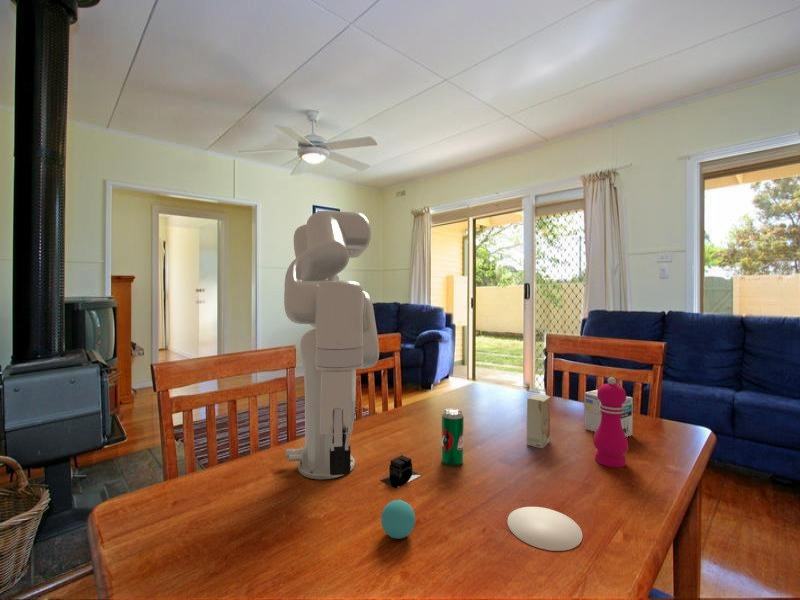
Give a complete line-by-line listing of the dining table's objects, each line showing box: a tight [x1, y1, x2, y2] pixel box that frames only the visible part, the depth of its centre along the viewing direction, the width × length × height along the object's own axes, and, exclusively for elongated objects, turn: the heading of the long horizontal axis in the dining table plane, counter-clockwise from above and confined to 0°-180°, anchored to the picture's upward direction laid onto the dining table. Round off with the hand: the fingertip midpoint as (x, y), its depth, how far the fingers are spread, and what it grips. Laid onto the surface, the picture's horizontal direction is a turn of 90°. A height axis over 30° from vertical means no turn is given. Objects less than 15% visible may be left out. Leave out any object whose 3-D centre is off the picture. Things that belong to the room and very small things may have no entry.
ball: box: [380, 499, 416, 540], centre depth 65 cm, size 6×6×6 cm
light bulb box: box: [583, 389, 634, 438], centre depth 112 cm, size 11×7×11 cm, turn 34°
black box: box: [379, 454, 422, 489], centre depth 85 cm, size 12×7×5 cm, turn 137°
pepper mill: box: [592, 376, 629, 469], centre depth 93 cm, size 7×7×20 cm
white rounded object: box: [506, 506, 583, 552], centre depth 68 cm, size 12×12×1 cm
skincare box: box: [526, 393, 552, 449], centre depth 104 cm, size 6×4×12 cm
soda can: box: [441, 408, 465, 467], centre depth 92 cm, size 5×5×12 cm
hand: (340, 472), depth 63 cm, fingers closed
